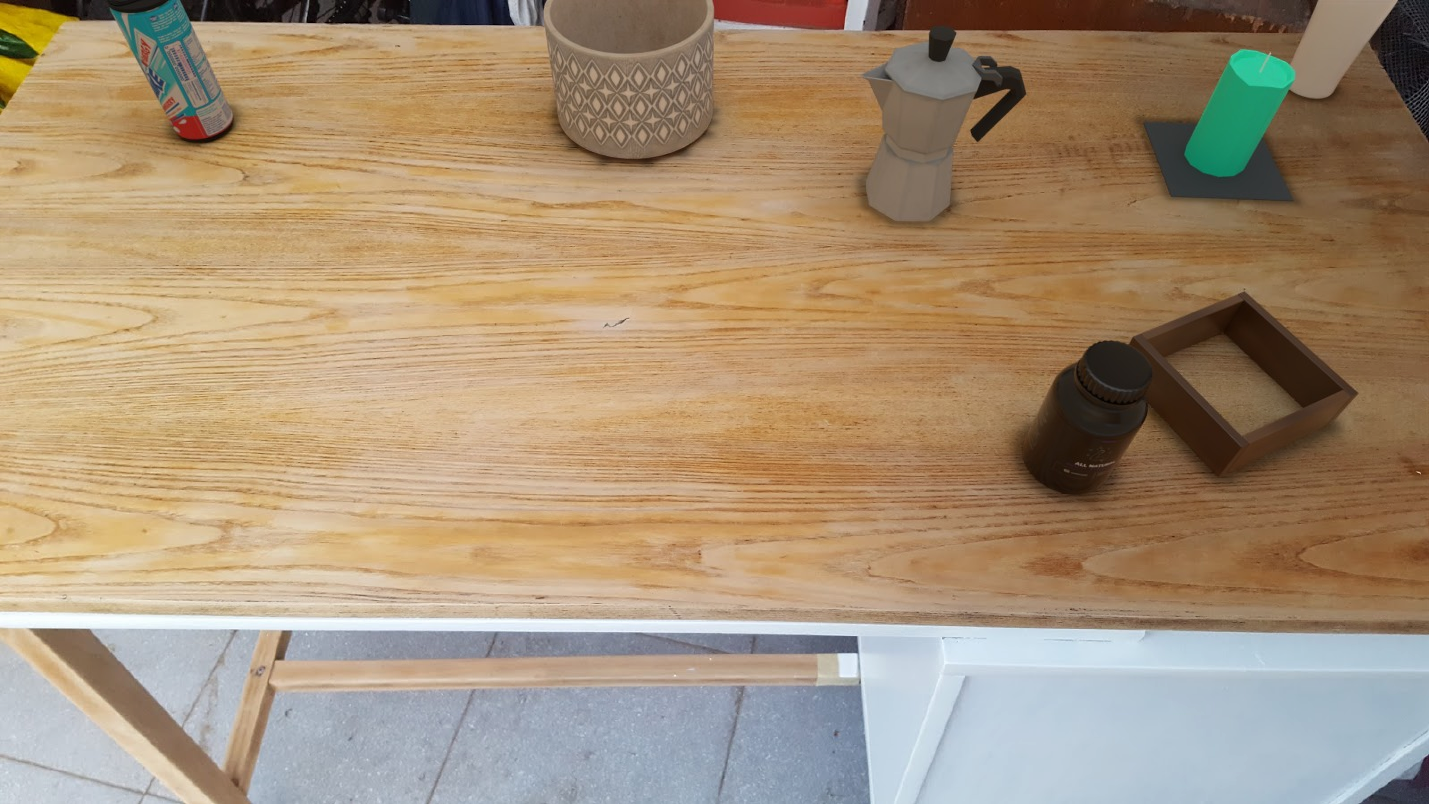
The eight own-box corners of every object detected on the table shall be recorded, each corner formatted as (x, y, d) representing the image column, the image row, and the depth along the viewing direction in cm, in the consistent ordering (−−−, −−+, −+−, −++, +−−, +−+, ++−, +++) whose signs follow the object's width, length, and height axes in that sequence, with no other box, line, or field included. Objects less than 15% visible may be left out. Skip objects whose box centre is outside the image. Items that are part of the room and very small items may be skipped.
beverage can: (182, 112, 101) (112, -23, 89) (239, 108, 102) (178, -27, 90) (172, 147, 98) (97, 12, 86) (231, 142, 98) (166, 6, 86)
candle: (1171, 147, 98) (1222, 41, 89) (1219, 134, 99) (1274, 29, 90) (1209, 182, 95) (1266, 77, 85) (1257, 169, 96) (1319, 64, 87)
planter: (729, 87, 105) (731, -24, 95) (690, 181, 95) (688, 69, 85) (588, 64, 107) (576, -46, 97) (536, 154, 97) (517, 42, 87)
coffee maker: (846, 228, 91) (873, 61, 77) (838, 169, 96) (861, 2, 82) (1000, 227, 91) (1056, 61, 77) (983, 169, 97) (1032, 3, 82)
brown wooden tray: (1221, 327, 84) (1244, 290, 80) (1328, 427, 77) (1359, 393, 74) (1113, 372, 81) (1132, 336, 77) (1215, 480, 74) (1241, 447, 70)
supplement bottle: (1072, 514, 72) (1128, 421, 62) (1002, 456, 75) (1045, 359, 66) (1126, 467, 75) (1188, 370, 65) (1056, 413, 78) (1106, 313, 68)
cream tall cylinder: (1277, 101, 104) (1351, -32, 92) (1270, 66, 108) (1340, -65, 96) (1342, 110, 103) (1425, -22, 91) (1333, 75, 107) (1411, -56, 95)
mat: (1254, 130, 101) (1257, 125, 100) (1291, 205, 94) (1294, 200, 93) (1141, 126, 101) (1143, 121, 101) (1168, 200, 94) (1171, 195, 93)
